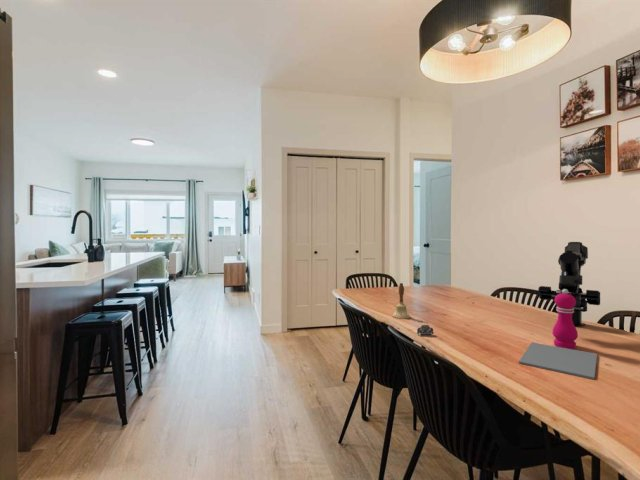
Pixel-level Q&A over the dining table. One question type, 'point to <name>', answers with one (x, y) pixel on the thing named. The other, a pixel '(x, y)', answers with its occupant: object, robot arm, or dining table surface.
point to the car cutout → (425, 330)
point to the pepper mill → (565, 321)
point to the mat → (560, 360)
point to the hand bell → (401, 305)
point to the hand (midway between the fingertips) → (566, 313)
